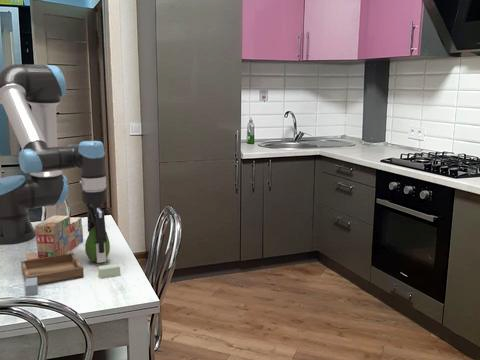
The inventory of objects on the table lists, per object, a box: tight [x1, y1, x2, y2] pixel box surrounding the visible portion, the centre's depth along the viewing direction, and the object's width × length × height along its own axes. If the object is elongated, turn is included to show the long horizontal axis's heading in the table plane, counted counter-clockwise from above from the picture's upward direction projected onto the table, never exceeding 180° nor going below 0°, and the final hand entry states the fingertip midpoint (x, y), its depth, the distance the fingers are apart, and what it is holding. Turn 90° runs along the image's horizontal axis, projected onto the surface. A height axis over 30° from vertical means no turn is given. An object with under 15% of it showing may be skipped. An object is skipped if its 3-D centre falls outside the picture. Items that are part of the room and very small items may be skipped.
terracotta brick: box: [25, 252, 39, 260], centre depth 159 cm, size 6×3×3 cm, turn 29°
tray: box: [20, 252, 85, 287], centre depth 151 cm, size 16×16×3 cm
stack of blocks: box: [34, 215, 84, 258], centre depth 172 cm, size 21×6×12 cm, turn 173°
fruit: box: [84, 227, 111, 263], centre depth 161 cm, size 8×8×12 cm
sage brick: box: [97, 263, 121, 279], centre depth 149 cm, size 6×3×3 cm, turn 114°
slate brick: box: [24, 277, 39, 297], centre depth 138 cm, size 6×3×3 cm, turn 22°
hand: (98, 257), depth 161 cm, fingers closed on fruit, 8 cm apart
